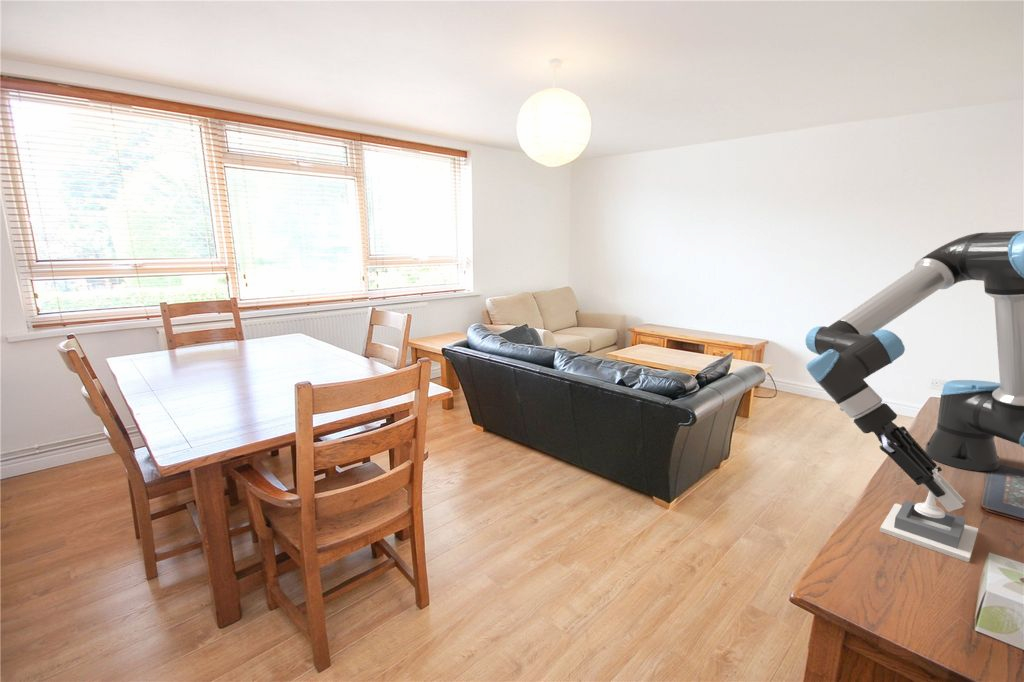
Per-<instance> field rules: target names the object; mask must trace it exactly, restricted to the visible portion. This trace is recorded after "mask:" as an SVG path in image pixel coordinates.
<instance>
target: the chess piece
mask: <svg viewBox="0 0 1024 682" xmlns="http://www.w3.org/2000/svg"><path fill="white" fill-rule="evenodd" d="M935 468H936V467H935ZM935 468H934V470H932V472H933V475H932V476H933V477H934V478H936V477H937V478H938V479H939V480H940V481H941V478H940V477H938V476H939V474H940V472H938V469H935ZM937 475H938V476H937ZM925 499H926V500H925V501H924V502H916V503H917V504H915V507H914V509H915V510H916V511H917V512H918V513H920V514H922V515H925V516H928V517H932V518H944V517H945V512H946V511H944V510H943V509H942V508H941V507H939V506H938V505H937V503H936V500H937V499H936V498H935V497H934V495H933V494H932V493H931V492H930V491H929V490H928V494H927V497H926V498H925Z"/></svg>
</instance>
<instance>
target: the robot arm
mask: <svg viewBox="0 0 1024 682" xmlns="http://www.w3.org/2000/svg"><path fill="white" fill-rule="evenodd" d="M965 281H980V282H981V281H982V282H983V286H984V293H985V294H987V295H988V296H990V297H991V298H993V299H994V300H993V301H994V312H995V313H994V314H995V315H994V317H995V329H996V341H997V343H996V344H997V358H998V359H997V360H998V371H999V372H998V373H999V382H995V381H988V380H987V381H986V380H977V379H976V380H973V379H957V380H956V379H955V380H949V381H946V382H945V383H944V384H943V387H942V391H941V393H940V400H939V401H940V403H939V407H938V417H937V424H936V425H937V426H936V429H935V430H934V432H933V433H932V435H931V437H930V438H929V440H928V441H927V442H926V444H925V449H923V447H922V446H921V445H920V444H919V443H918V442H917V440H916V439H914V437H912V435H911V434H910V432H909V431H908V429H907V428H906V427H905V426H903V425H902V426H898V425H897V424H896V423H894V422H893V421H894V420H896V419H897V417H898V414H897V413H896V412H895V411H894V410H893V409H892V408H891V407H890V406H889V405H888V404H887V403H885V402H883V398H882V397H881V396H880V395H879V394H878V393H877V392H876V391H875V390H874V389H873V388H872V387H871V386H870V385H869V384H868V383H867V381H866V380H864V379H867V378H868V377H870V376H871V375H873V374H874V373H876V372H878V371H880V370H881V369H883V368H885V367H887V366H888V365H891V364H893V362H894V361H896V360H897V359H899V358H900V357H901V356H903V354H904V353H905V350H906V349H905V347H906V346H905V345H904V343H903V340H902V339H901V338H900V337H899V336H898V334H896V333H894V332H893V331H890V330H888V329H883V327H885V326H886V325H888V324H890V323H891V322H893V321H894V320H896V319H897V318H898V317H900V316H901V315H903V314H905V313H906V312H907V311H909V310H911V309H912V308H913V307H915V306H917V304H919V303H921V302H922V301H923V300H924V301H925V300H926V299H927V298H928V297H929V296H932V295H933V294H934V293H936V292H937V291H939V290H946V289H949V288H950V287H951V288H952V286H954V285H956V284H958V283H961V282H965ZM804 342H805V346H806V348H807V349H808V350H809V351H810V352H812V353H814V354H817V355H818V356H816V357H815V358H813V359H812V360H811V361H809V362H808V363H807V364H806V367H805V368H806V370H807V371H808V373H809V375H811V377H812V378H813V380H815V383H816V384H818V385H819V386H820V387H821V388H822V389H823V390H824V391H825V392H826V393H827V394H828V395H829V396H830V397H831V399H832V400H834V402H835V403H836V404H837V405H838V406H839V410H840V411H842V412H844V413H845V414H846V415H847V416H848V417H849V418H852V419H853V418H854V419H853V424H855V425H856V426H857V427H858V428H859V430H860V431H861V432H862V433H863V434H870V433H874V435H875V436H876V438H877V440H878V441H879V443H880V444H881V445H879V449H880V451H882V452H883V453H885V454H886V455H887V456H888V457H889V458H890V459H891V460H892V461H894V463H895V464H897V466H898V467H899V468H900V469H901V470H902V471H903V472H905V473H906V475H908V476H909V478H911V479H912V481H913V482H914V483H915V484H916V485H917V486H921V485H923V486H924V487H925V488H926V489H927V490H928V492H929V491H930V492H931V493H932V494H933V495H934V497H935V498H936V500H937V501H938V502H939V503H940V505H942V506H943V508H944V509H946V512H948V513H950V512H953V511H955V510H958V509H962V508H963V507H964V505H963V503H965V502H966V499H964V497H962V496H961V495H960V493H959V492H958V491H956V489H955V488H954V487H953V486H952V485H951V483H949V482H948V481H947V479H945V477H943V476H942V474H940V472H942V470H943V469H942V468H941V466H939V467H938V464H937V463H936V462H939V463H941V464H943V465H946V466H950V467H954V468H957V469H962V470H963V469H964V470H970V471H977V472H992V471H996V470H998V469H999V467H1000V456H999V455H998V452H997V447H996V442H995V437H997V438H1000V439H1002V440H1005V441H1008V442H1011V443H1014V444H1015V445H1018V446H1020V447H1022V448H1024V230H1015V231H1013V230H1012V231H996V232H995V231H994V232H986V231H985V232H978V233H977V232H976V233H971V234H967V235H964V236H961V237H959V238H956V239H954V240H951V241H950V242H947V243H945V244H944V245H941V246H940V247H938V248H936V249H934V250H932V251H931V252H929V253H928V254H926V255H924V256H923V257H922V258H920V259H918V260H917V261H916V262H915V264H914V267H913V269H911V270H910V271H908V272H907V273H905V274H904V275H902V276H901V277H900V278H898V279H897V280H895V281H893V282H892V283H890V284H889V285H888V286H886V287H885V288H883V289H882V290H881V291H879V292H877V293H876V294H874V295H873V296H871V297H870V298H869V299H867V300H866V301H864V302H863V303H861V304H860V305H859V306H857V307H856V308H853V309H852V310H851V311H850V312H848V313H847V314H845V315H844V316H842V317H841V318H839V319H838V320H837V321H835V322H833V323H832V324H830V325H829V326H816V327H813V328H811V329H810V330H809V331H808V333H807V334H806V336H805V341H804ZM935 461H936V462H935ZM934 468H935V469H938V473H939V476H938V475H937V476H938V477H940V478H941V481H940V480H939V479H938V478H937V477H936V478H934V477H933V476H932V475H933V472H932V470H934Z"/></svg>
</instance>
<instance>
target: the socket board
mask: <svg viewBox="0 0 1024 682" xmlns="http://www.w3.org/2000/svg"><path fill="white" fill-rule="evenodd" d="M917 503H918V502H913V501H911V500H907V499H905V500H904V502H903V504H899V503H894V504H893V506H892V507H891V509H890V511H889V513H888V514H887V516H886V517H885V519H884V521H883V522H882V524H881V525H880V527H879V532H880V533H884V534H886V535H889V536H891V537H895V538H898V539H901V540H903V541H906V542H908V543H912V544H914V545H917V546H920V547H923V548H926V549H929V550H932V551H935V552H938V553H940V554H944V555H946V556H949V557H951V558H954V559H957V560H960V561H963V562H966V563H970V560H971V557H972V554H973V553H972V552H973V549H974V546H975V543H976V540H977V536H978V533H979V532H978V531H979V528H978V527H975V526H971V525H968V524H966V518H967V517H963V516H960V515H958V514H953V513H950V512H948V511H944V512H945V517H944V518H932V517H928V516H925V515H922V514H920V513H918V512H917V511H916V510H915V509H914V507H915V504H917Z"/></svg>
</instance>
